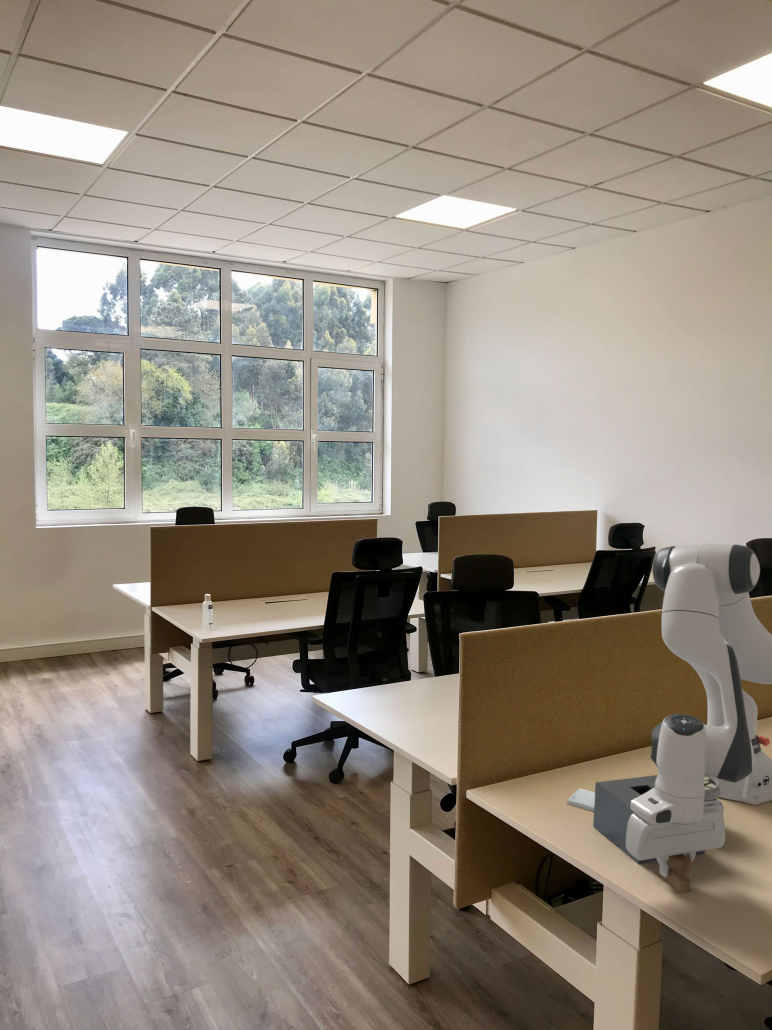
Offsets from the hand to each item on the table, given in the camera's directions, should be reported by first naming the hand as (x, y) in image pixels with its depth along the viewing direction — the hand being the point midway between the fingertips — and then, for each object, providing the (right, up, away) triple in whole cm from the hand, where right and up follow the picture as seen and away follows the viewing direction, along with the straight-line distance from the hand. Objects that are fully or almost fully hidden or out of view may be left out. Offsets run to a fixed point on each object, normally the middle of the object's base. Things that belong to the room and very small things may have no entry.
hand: (674, 873), depth 149 cm
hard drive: (-5, 0, +33) cm, 34 cm away
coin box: (+1, -1, +17) cm, 17 cm away
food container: (+15, -1, +24) cm, 29 cm away
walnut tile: (0, -2, 0) cm, 2 cm away
